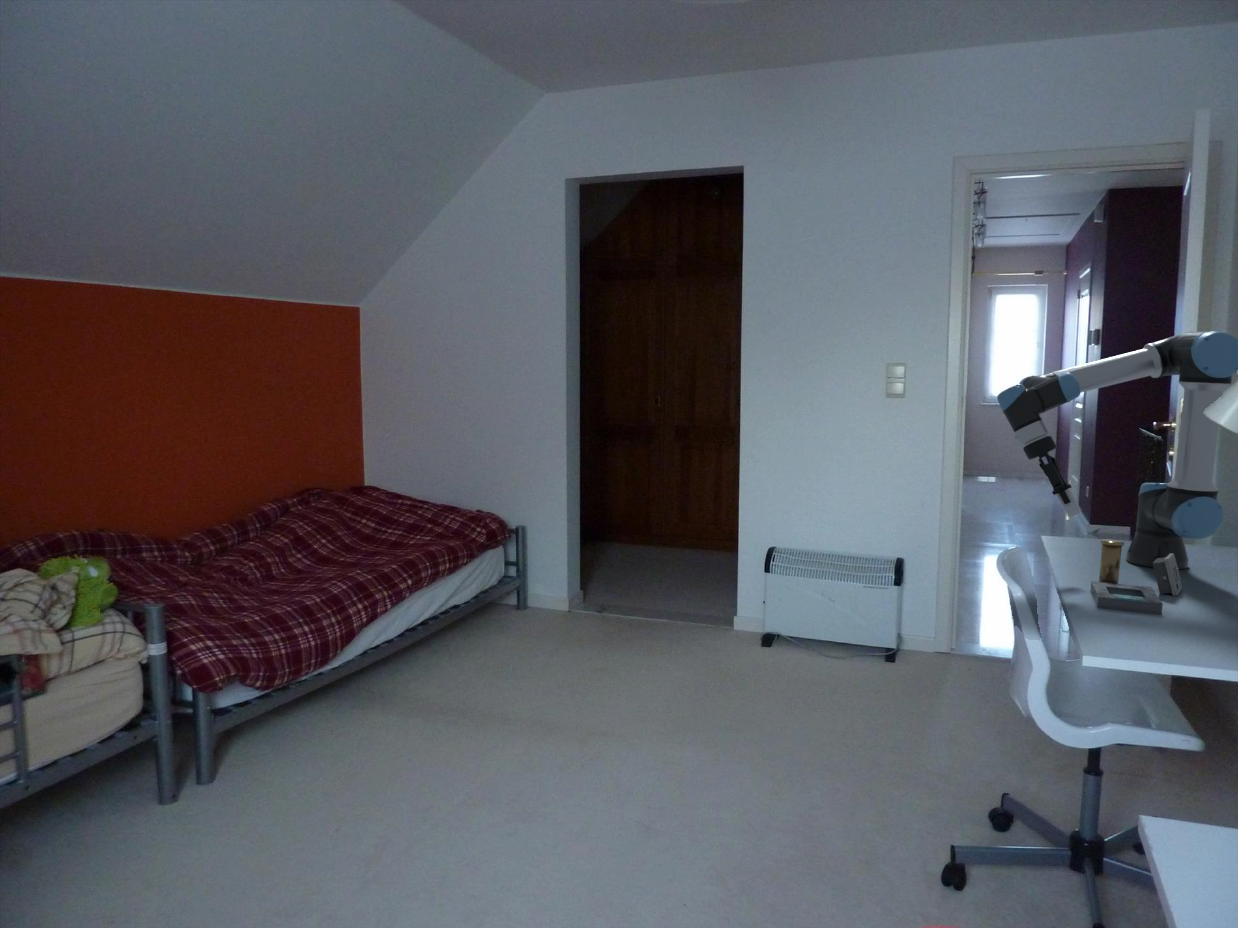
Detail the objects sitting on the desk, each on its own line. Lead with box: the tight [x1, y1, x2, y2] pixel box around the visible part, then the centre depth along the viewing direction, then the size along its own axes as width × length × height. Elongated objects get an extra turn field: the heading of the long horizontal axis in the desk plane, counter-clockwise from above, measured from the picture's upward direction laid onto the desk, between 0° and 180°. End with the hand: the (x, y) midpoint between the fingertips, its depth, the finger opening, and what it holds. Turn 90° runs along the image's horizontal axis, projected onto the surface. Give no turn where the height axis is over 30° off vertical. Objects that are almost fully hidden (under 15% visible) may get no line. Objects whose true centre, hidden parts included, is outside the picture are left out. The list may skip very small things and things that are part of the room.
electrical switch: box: [1152, 553, 1183, 597], centre depth 228 cm, size 9×5×9 cm, turn 141°
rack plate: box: [1089, 580, 1164, 616], centre depth 217 cm, size 16×13×3 cm
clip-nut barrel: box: [1098, 538, 1125, 584], centre depth 234 cm, size 5×5×11 cm
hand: (1075, 514), depth 237 cm, fingers open, 13 cm apart
